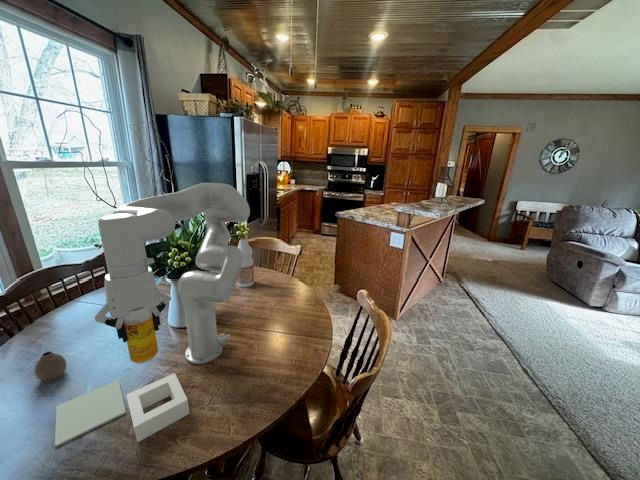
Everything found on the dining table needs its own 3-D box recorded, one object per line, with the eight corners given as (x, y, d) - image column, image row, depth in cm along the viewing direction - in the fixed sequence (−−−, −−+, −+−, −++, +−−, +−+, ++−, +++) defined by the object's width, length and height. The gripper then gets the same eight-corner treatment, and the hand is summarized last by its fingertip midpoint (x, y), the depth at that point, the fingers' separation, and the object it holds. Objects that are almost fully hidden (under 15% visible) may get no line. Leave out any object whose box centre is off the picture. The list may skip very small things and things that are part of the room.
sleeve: (176, 385, 82) (174, 372, 81) (189, 413, 74) (187, 399, 72) (129, 408, 75) (126, 394, 73) (137, 442, 66) (133, 427, 65)
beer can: (127, 367, 65) (115, 313, 61) (135, 350, 71) (125, 300, 66) (155, 362, 67) (146, 310, 63) (161, 346, 73) (153, 297, 68)
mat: (119, 381, 83) (118, 380, 83) (125, 413, 73) (125, 411, 73) (56, 407, 74) (56, 405, 74) (55, 447, 64) (54, 445, 64)
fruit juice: (233, 283, 150) (230, 235, 142) (248, 278, 156) (246, 233, 148) (242, 289, 144) (239, 240, 135) (257, 284, 150) (255, 236, 142)
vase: (74, 368, 87) (68, 346, 85) (55, 385, 81) (47, 362, 78) (52, 368, 87) (45, 346, 84) (31, 385, 80) (23, 361, 78)
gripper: (165, 255, 70) (173, 314, 75) (77, 271, 58) (94, 340, 64) (174, 263, 65) (182, 327, 70) (79, 283, 53) (98, 357, 59)
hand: (140, 333), depth 67 cm, fingers closed on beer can, 6 cm apart
